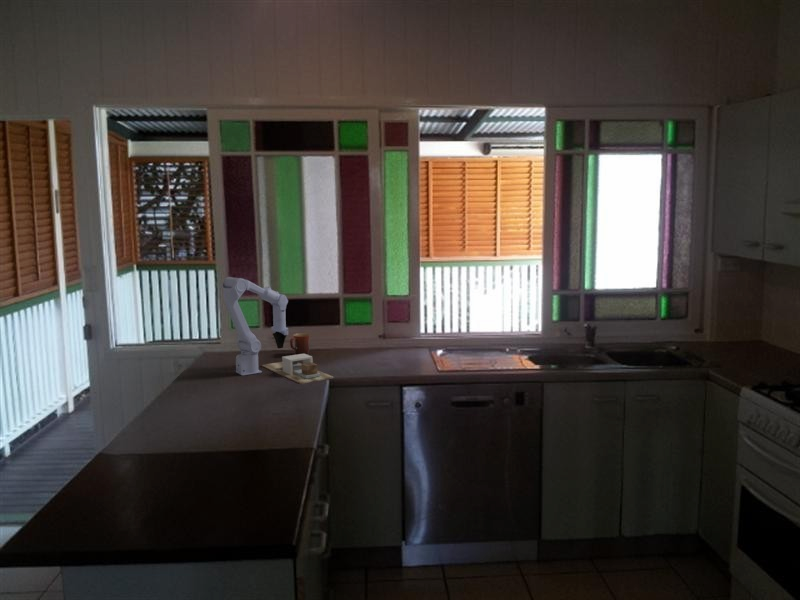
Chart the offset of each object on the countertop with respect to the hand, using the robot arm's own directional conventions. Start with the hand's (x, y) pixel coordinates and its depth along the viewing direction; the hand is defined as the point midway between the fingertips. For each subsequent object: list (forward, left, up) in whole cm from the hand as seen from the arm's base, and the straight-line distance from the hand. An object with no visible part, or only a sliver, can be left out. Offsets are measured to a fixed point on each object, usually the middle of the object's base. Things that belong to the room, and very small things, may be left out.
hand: (280, 348), depth 294 cm
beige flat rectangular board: (0, -15, -8) cm, 17 cm away
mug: (+17, +14, -9) cm, 24 cm away
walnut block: (0, -28, -6) cm, 29 cm away
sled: (0, -20, -8) cm, 21 cm away
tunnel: (0, -17, -8) cm, 19 cm away
